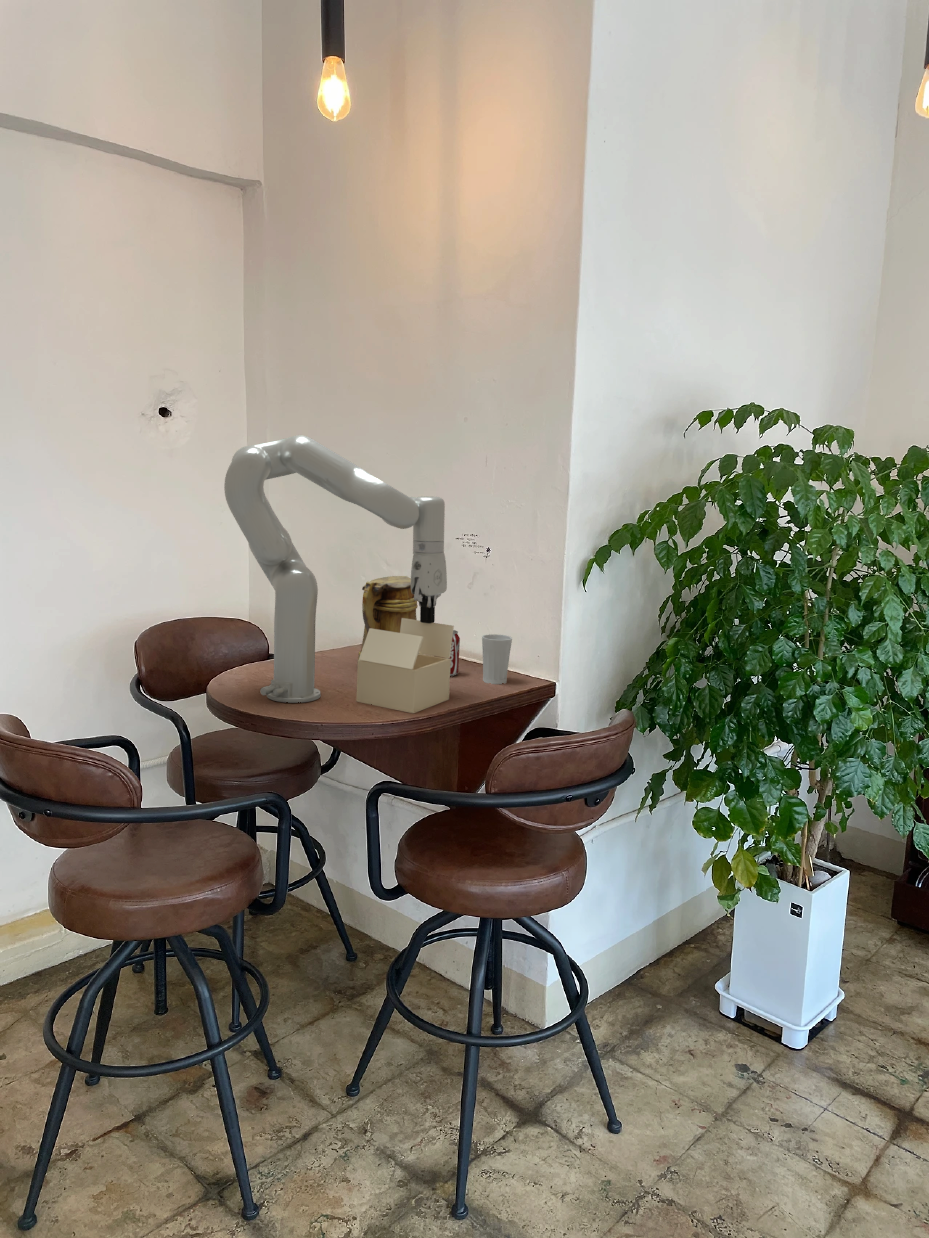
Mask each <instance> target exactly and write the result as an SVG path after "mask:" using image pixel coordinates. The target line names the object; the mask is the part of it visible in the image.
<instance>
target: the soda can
mask: <svg viewBox="0 0 929 1238" xmlns="http://www.w3.org/2000/svg"><path fill="white" fill-rule="evenodd" d="M458 633H459V631H458V630H455V629H453V637H452V645H451V653H450V658H447V659H451V667H450V676H451V677H454V676H455V675H458V674H459V667H460V666H459V663H460V647H461V646H460V643H461V642H460V641H461V638H460V636H459V634H458ZM435 657H437V656H435ZM441 658H443V657H441Z"/></svg>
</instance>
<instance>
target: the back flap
mask: <svg viewBox="0 0 929 1238" xmlns="http://www.w3.org/2000/svg"><path fill="white" fill-rule="evenodd" d="M454 628H455V626H454V625H451V624H445V623H439V622H438V623H437V622H434V623H430V624H429V623H421V622H420V619H417V620H412V619H405V618H402V620H401V628H400V633H403V634H410V635H416V636H422V637H423V640H422V643H421V647H420V650H419V653H420V654H423V655H429V656H437V657H443V658H450V653H451V645H452V637H453V630H455V629H454Z"/></svg>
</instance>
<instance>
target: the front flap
mask: <svg viewBox="0 0 929 1238" xmlns="http://www.w3.org/2000/svg"><path fill="white" fill-rule="evenodd" d="M422 640H423V637H422V636H416V635H410V634H403V633H397V632H391V631H384V630H378V629H372V628H369V631H368V634H367V637H366V640H365V643H364V646H363V649H362V651H361V650H360V651H361V654H360V657H359V660H361V661H367V662H372V663H378V664H383V665H389V666H394V667H400V668H405V669H411V670H413V668H414V665H415V662H416V659H417V656H418V653H419V650H420V647H421V643H422Z"/></svg>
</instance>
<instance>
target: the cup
mask: <svg viewBox="0 0 929 1238" xmlns="http://www.w3.org/2000/svg"><path fill="white" fill-rule="evenodd" d="M512 643H513V637H511V636H509V635H504V634H499V633H498V634H495V633H494V634H492V633H491V634H490V633H489V634H483V635H482V636H481V644H482V647H481V648H482V674H483V675H482V682H483V681H484V683H485V684H489V683H491V684H490V685H503V684H502V683H504V684H507V681H508V678H507V677H508V670H509V663H510V656H511V651H512V648H511V647H512Z"/></svg>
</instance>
